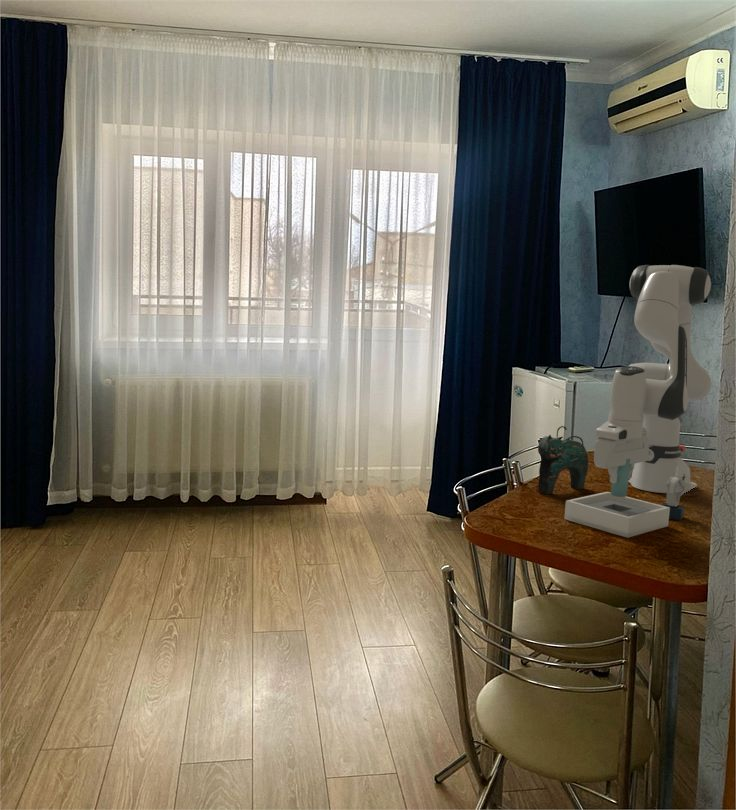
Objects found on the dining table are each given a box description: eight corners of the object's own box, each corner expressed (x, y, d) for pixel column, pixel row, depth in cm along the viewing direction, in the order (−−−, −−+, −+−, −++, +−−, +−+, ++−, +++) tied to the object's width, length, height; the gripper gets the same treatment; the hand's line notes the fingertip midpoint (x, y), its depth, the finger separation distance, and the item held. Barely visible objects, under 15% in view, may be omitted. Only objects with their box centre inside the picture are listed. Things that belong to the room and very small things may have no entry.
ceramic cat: (545, 496, 245) (550, 429, 242) (529, 491, 251) (534, 425, 248) (589, 489, 257) (595, 425, 254) (573, 484, 262) (578, 421, 259)
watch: (684, 515, 232) (689, 476, 230) (678, 521, 225) (683, 481, 223) (663, 511, 234) (667, 473, 233) (657, 518, 228) (661, 478, 226)
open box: (605, 509, 234) (607, 491, 233) (668, 526, 220) (669, 507, 219) (564, 519, 222) (565, 500, 221) (627, 537, 208) (629, 518, 207)
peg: (616, 492, 223) (619, 455, 221) (629, 495, 220) (633, 458, 218) (607, 494, 220) (611, 456, 219) (621, 497, 217) (624, 459, 216)
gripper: (636, 424, 226) (631, 474, 228) (591, 430, 213) (586, 483, 215) (657, 428, 222) (652, 479, 224) (613, 434, 208) (608, 488, 210)
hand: (619, 481), depth 219 cm, fingers closed on peg, 4 cm apart
